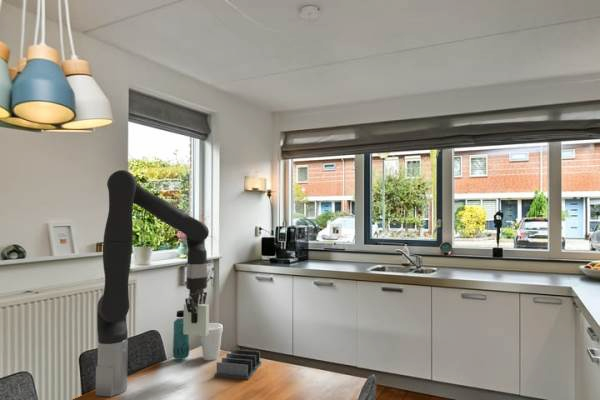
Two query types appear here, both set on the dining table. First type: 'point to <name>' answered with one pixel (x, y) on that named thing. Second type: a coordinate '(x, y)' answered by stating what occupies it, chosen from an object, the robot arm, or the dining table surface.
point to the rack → (238, 364)
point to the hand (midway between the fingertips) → (196, 321)
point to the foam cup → (212, 342)
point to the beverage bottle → (180, 338)
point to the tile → (202, 321)
